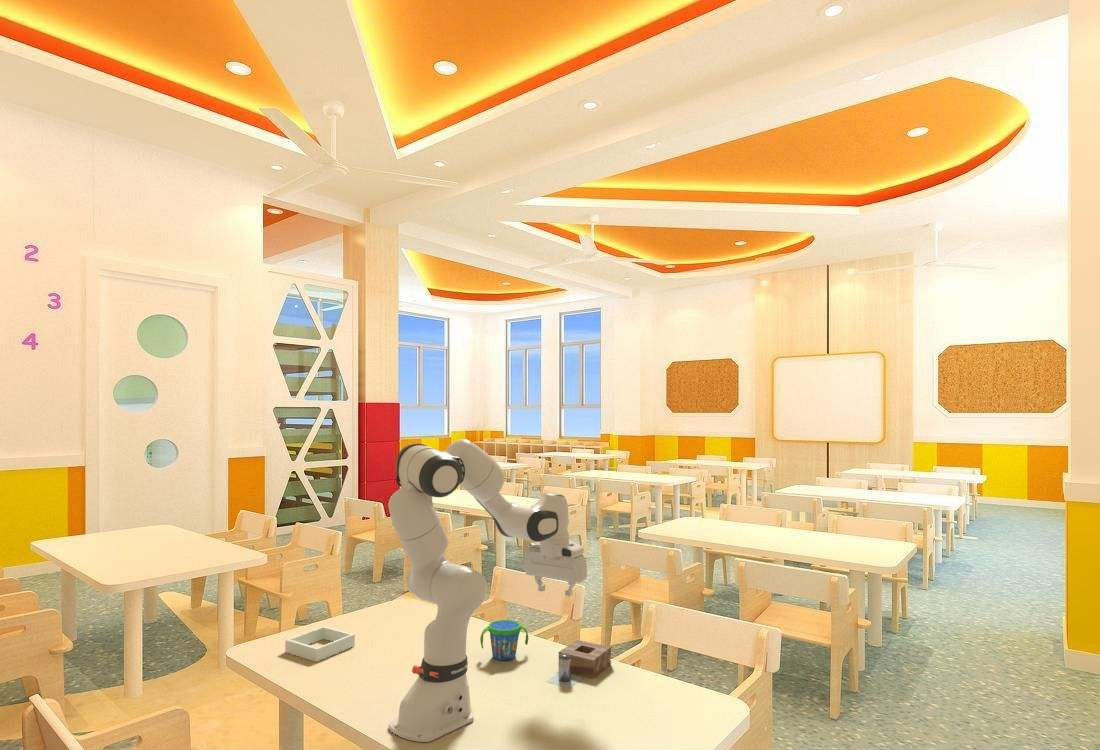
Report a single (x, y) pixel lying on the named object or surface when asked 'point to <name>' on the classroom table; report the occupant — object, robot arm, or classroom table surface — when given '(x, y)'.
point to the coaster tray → (304, 650)
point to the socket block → (588, 658)
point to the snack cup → (504, 638)
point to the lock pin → (564, 667)
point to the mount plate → (566, 684)
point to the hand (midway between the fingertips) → (555, 593)
